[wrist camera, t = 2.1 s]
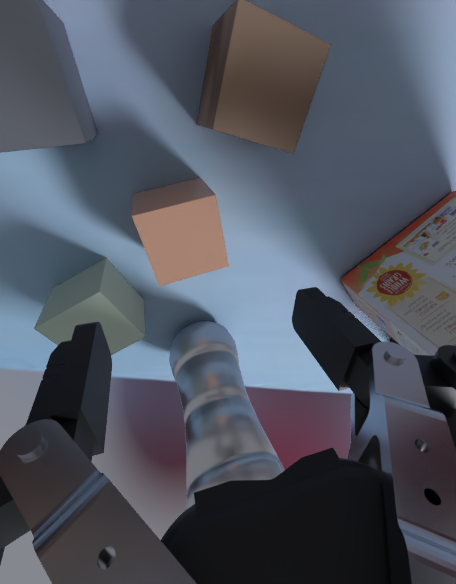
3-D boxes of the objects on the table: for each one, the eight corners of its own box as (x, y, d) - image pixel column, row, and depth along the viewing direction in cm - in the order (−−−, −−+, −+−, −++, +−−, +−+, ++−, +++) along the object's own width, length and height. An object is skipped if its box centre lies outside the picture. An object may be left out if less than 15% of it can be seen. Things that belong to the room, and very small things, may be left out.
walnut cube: (213, 25, 15) (239, -3, 11) (286, 58, 17) (331, 44, 13) (196, 124, 18) (212, 129, 14) (262, 144, 20) (293, 153, 16)
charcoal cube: (-47, 26, 13) (-129, -9, 9) (63, 23, 14) (33, -11, 10) (10, 143, 16) (-33, 156, 12) (98, 134, 17) (85, 143, 13)
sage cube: (53, 287, 21) (33, 328, 17) (106, 257, 21) (99, 291, 17) (96, 325, 24) (88, 367, 20) (144, 298, 24) (145, 336, 20)
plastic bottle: (236, 342, 31) (342, 595, 15) (182, 366, 30) (229, 650, 14) (217, 302, 27) (334, 590, 11) (155, 330, 26) (180, 664, 11)
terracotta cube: (133, 193, 19) (131, 216, 15) (200, 177, 20) (215, 194, 16) (155, 254, 22) (159, 286, 18) (213, 238, 23) (228, 265, 19)
